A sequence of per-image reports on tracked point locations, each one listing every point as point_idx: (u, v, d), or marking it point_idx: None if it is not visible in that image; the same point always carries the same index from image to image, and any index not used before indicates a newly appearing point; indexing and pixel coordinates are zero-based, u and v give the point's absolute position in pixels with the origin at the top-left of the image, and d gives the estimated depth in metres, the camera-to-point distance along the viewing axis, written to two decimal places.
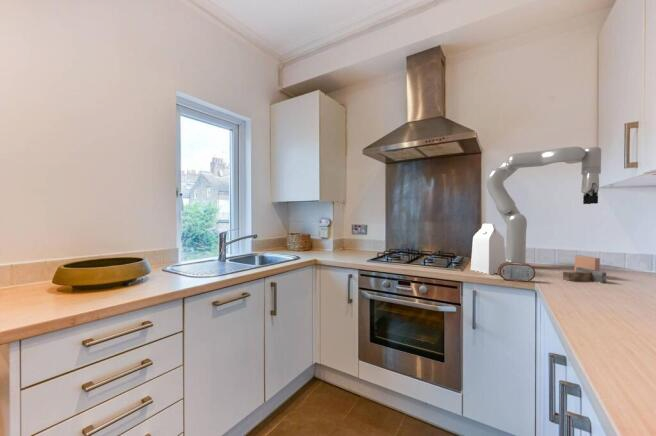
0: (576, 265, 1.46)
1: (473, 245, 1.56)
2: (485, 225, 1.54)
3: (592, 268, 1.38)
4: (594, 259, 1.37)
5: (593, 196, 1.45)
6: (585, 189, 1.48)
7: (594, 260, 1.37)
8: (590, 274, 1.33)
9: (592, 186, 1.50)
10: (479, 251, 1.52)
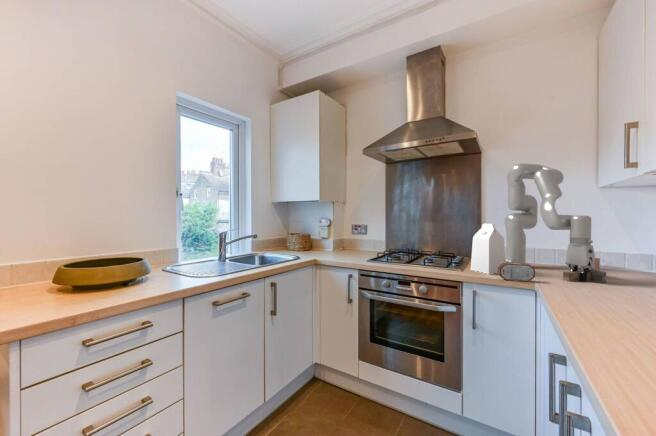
0: None
1: (473, 245, 1.56)
2: (485, 225, 1.54)
3: None
4: None
5: None
6: None
7: None
8: (590, 274, 1.33)
9: None
10: (479, 251, 1.52)
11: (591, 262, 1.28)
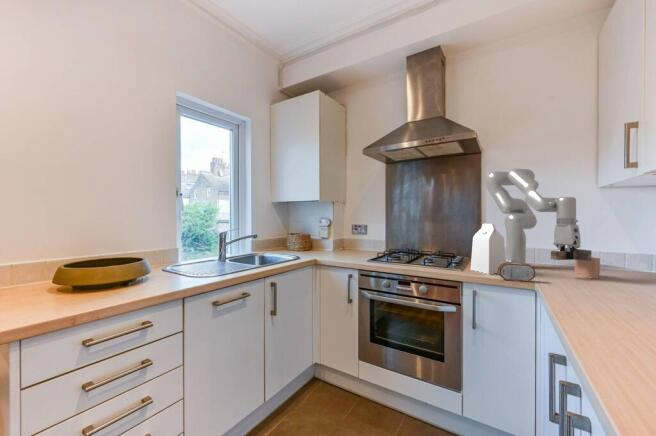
0: (576, 265, 1.46)
1: (473, 245, 1.56)
2: (485, 225, 1.54)
3: (592, 268, 1.38)
4: (594, 259, 1.37)
5: None
6: None
7: (594, 260, 1.37)
8: (576, 253, 1.39)
9: None
10: (479, 251, 1.52)
11: (577, 240, 1.35)
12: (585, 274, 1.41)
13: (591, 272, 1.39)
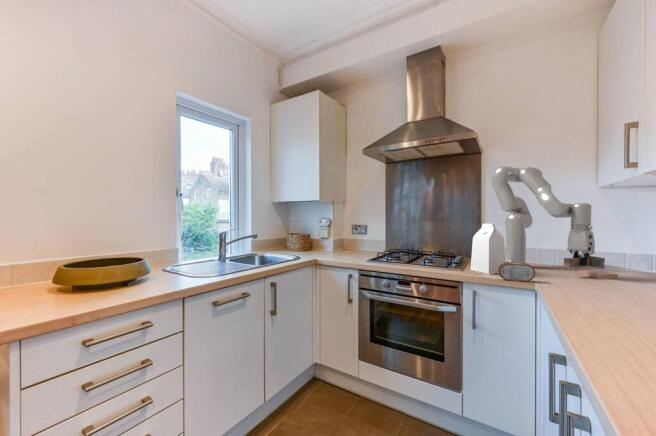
0: (589, 270, 1.47)
1: (473, 245, 1.56)
2: (485, 225, 1.54)
3: (606, 273, 1.39)
4: (616, 274, 1.39)
5: None
6: None
7: (615, 274, 1.39)
8: (589, 260, 1.41)
9: None
10: (479, 251, 1.52)
11: (591, 247, 1.36)
12: (592, 272, 1.42)
13: (601, 273, 1.39)
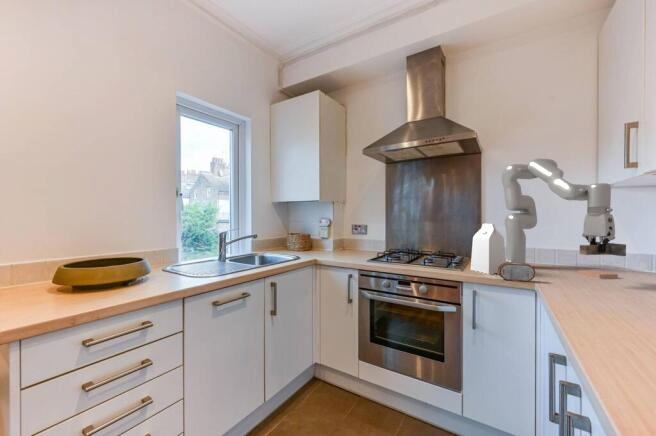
0: (589, 270, 1.47)
1: (473, 245, 1.56)
2: (485, 225, 1.54)
3: (606, 273, 1.39)
4: (615, 274, 1.39)
5: None
6: None
7: (615, 274, 1.39)
8: (608, 247, 1.26)
9: None
10: (479, 251, 1.52)
11: (611, 232, 1.21)
12: (592, 272, 1.42)
13: (601, 273, 1.39)
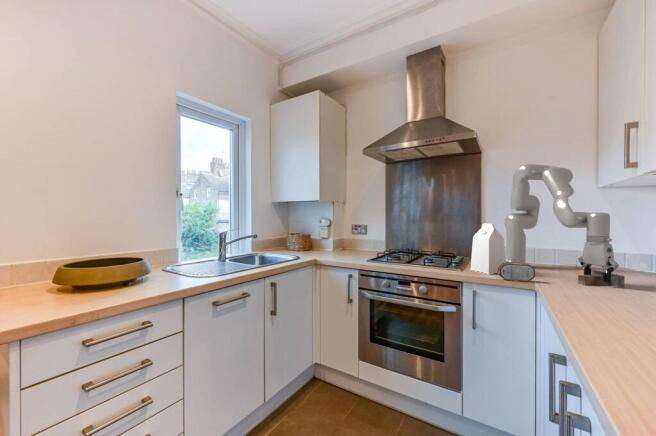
0: None
1: (473, 245, 1.56)
2: (485, 225, 1.54)
3: None
4: None
5: None
6: None
7: None
8: None
9: None
10: (479, 251, 1.52)
11: (612, 260, 1.21)
12: None
13: None
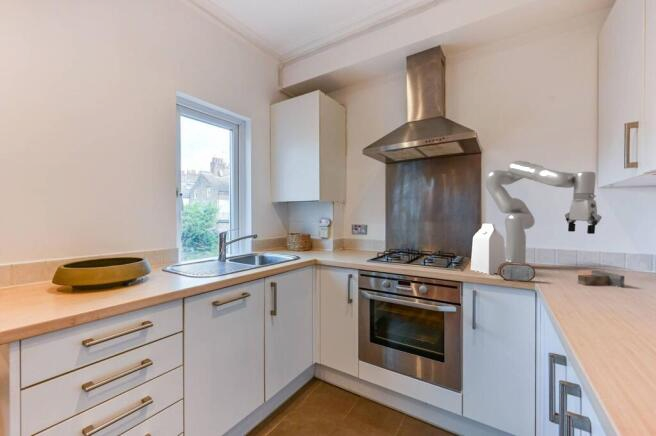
0: (589, 270, 1.47)
1: (473, 245, 1.56)
2: (485, 225, 1.54)
3: None
4: None
5: None
6: None
7: None
8: (607, 277, 1.26)
9: None
10: (479, 251, 1.52)
11: (595, 213, 1.31)
12: None
13: None
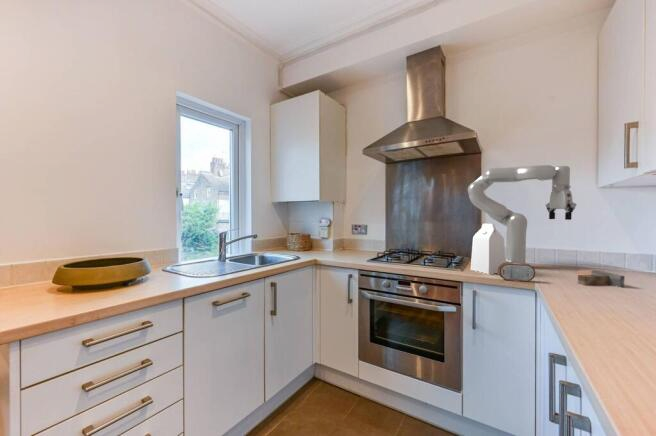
0: (588, 270, 1.47)
1: (473, 245, 1.56)
2: (485, 225, 1.54)
3: None
4: None
5: None
6: None
7: None
8: (607, 277, 1.26)
9: None
10: (479, 251, 1.52)
11: (571, 201, 1.51)
12: None
13: None
